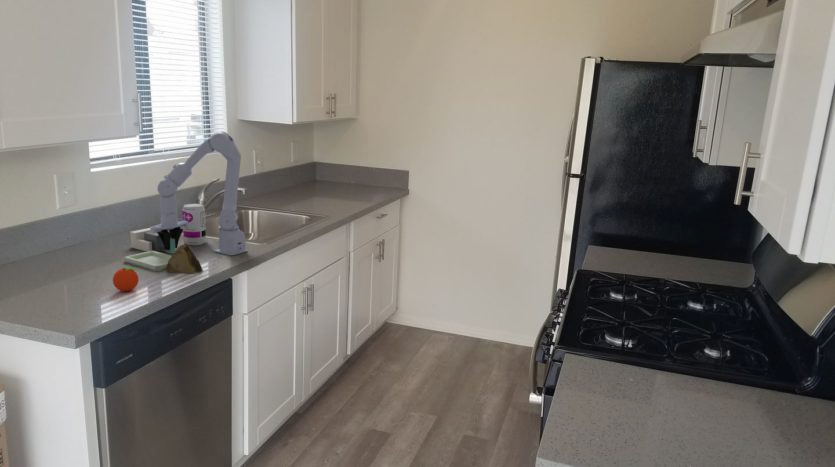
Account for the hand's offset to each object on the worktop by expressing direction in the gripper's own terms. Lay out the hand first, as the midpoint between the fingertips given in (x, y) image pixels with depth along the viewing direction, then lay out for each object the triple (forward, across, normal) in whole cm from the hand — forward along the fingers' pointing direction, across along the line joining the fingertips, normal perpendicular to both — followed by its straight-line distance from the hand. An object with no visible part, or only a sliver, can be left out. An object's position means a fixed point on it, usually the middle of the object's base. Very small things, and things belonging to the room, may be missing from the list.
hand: (171, 248), depth 221 cm
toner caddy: (+1, 0, -5) cm, 6 cm away
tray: (+1, +12, +7) cm, 14 cm away
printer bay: (+1, 0, -11) cm, 11 cm away
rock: (+2, +12, +22) cm, 25 cm away
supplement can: (+2, -14, -4) cm, 15 cm away
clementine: (+2, +34, +25) cm, 42 cm away
